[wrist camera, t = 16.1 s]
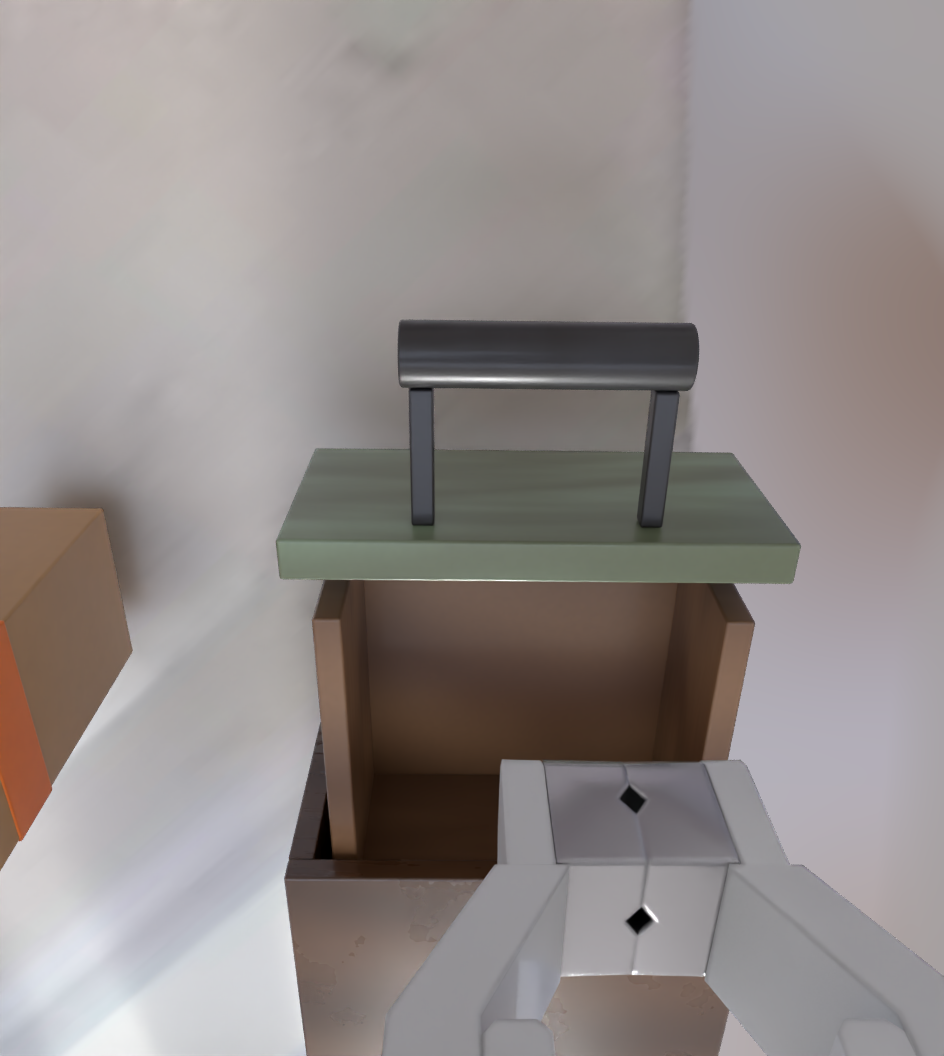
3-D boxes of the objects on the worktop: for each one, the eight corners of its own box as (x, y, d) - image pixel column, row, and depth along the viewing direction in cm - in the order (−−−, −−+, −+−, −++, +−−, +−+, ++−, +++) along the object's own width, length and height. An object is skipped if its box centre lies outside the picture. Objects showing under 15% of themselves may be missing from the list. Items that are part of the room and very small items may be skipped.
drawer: (301, 276, 24) (252, 330, 19) (761, 282, 25) (848, 337, 19) (339, 768, 33) (313, 905, 27) (679, 770, 33) (723, 907, 28)
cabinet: (323, 706, 33) (283, 879, 26) (697, 709, 33) (762, 881, 26) (344, 953, 39) (317, 1145, 32) (655, 954, 40) (697, 1145, 32)
